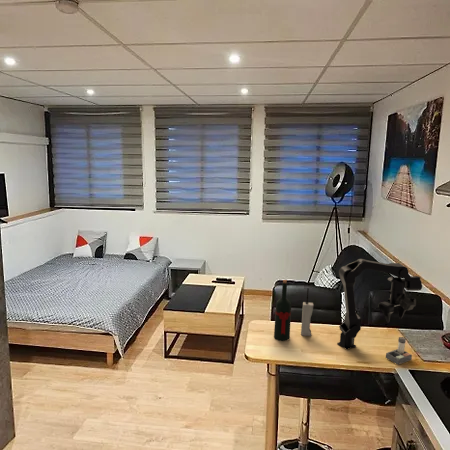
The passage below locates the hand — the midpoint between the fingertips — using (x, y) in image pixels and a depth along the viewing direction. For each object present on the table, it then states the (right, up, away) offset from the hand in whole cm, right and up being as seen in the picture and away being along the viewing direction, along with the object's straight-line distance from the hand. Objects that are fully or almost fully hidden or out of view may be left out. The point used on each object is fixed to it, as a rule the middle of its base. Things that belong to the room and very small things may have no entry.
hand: (394, 320), depth 186 cm
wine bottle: (-53, -11, +7) cm, 55 cm away
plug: (-1, -15, -8) cm, 17 cm away
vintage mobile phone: (-40, -10, +12) cm, 43 cm away
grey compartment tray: (-2, -15, -10) cm, 18 cm away
